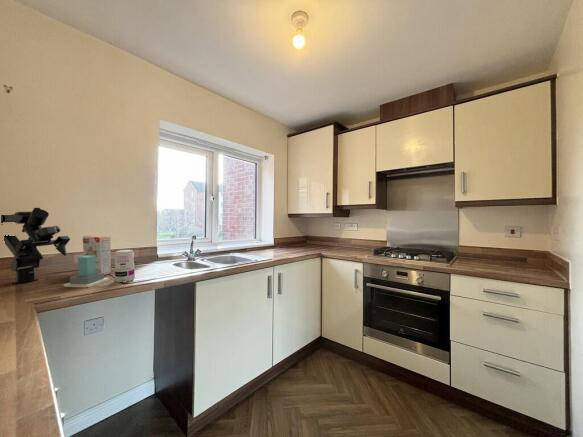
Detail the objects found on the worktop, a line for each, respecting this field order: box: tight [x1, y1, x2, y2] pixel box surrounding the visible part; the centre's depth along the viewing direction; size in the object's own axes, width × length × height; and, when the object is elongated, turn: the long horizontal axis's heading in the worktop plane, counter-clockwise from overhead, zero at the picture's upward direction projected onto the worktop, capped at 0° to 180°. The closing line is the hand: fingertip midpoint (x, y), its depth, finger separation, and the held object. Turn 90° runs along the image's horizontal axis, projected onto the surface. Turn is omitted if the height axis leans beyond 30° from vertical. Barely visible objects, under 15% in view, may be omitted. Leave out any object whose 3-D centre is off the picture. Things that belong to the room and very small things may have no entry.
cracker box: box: [82, 234, 112, 276], centre depth 138 cm, size 14×6×21 cm, turn 69°
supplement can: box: [113, 249, 136, 283], centre depth 125 cm, size 8×8×15 cm
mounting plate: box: [63, 273, 110, 288], centre depth 121 cm, size 12×12×4 cm
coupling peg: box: [77, 255, 96, 277], centre depth 121 cm, size 4×4×12 cm
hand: (54, 256), depth 116 cm, fingers open, 9 cm apart
